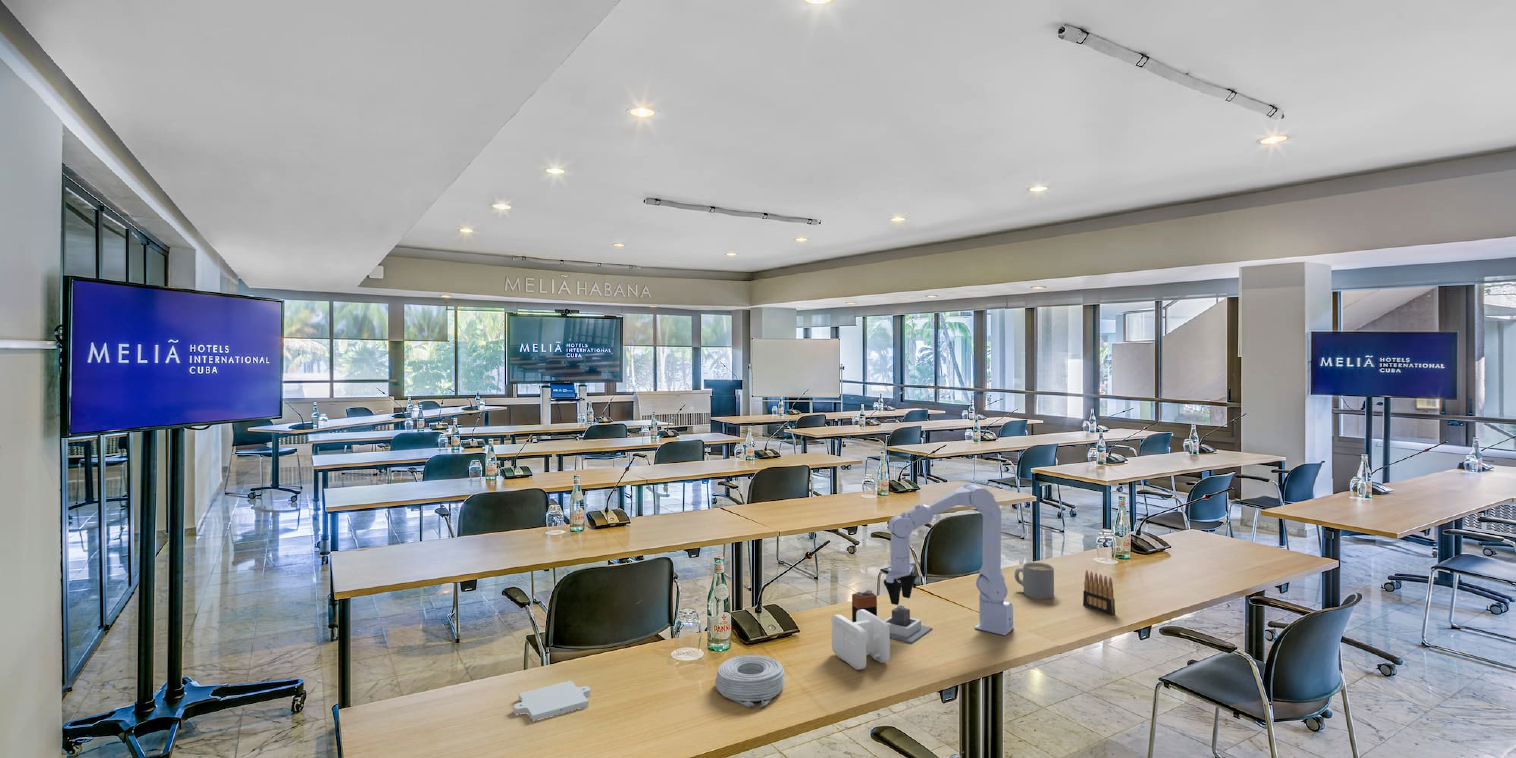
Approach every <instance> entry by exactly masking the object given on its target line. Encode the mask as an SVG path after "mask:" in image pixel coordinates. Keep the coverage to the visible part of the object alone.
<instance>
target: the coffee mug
mask: <svg viewBox="0 0 1516 758" xmlns="http://www.w3.org/2000/svg"><path fill="white" fill-rule="evenodd" d="M1020 572H1021V574H1022V579H1021V578H1020ZM1054 577H1055V567H1054V566H1053V565H1051V564H1049V563H1044V562H1037V561H1036V562H1035V561H1034V562H1033V561H1032V562H1025V563H1023V566H1022V567H1017V568H1016V569H1015V571H1014V579H1015V582H1016V583H1017V584H1019V585H1020V586H1022V587H1023V595H1025V596H1026V597H1028V598H1033V599H1038V600H1049V599H1053V598H1054V597H1055V578H1054Z"/></svg>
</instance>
